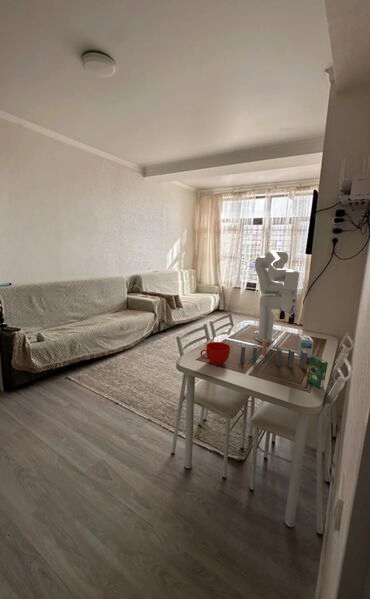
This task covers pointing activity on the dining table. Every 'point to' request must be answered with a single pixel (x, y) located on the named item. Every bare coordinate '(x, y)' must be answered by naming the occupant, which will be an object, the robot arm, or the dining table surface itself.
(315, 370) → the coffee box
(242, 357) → the domino
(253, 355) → the domino
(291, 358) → the domino
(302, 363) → the domino
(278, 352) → the domino
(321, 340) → the dining table surface
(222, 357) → the ceramic cup
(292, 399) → the dining table surface
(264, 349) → the domino
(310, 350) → the light bulb box
